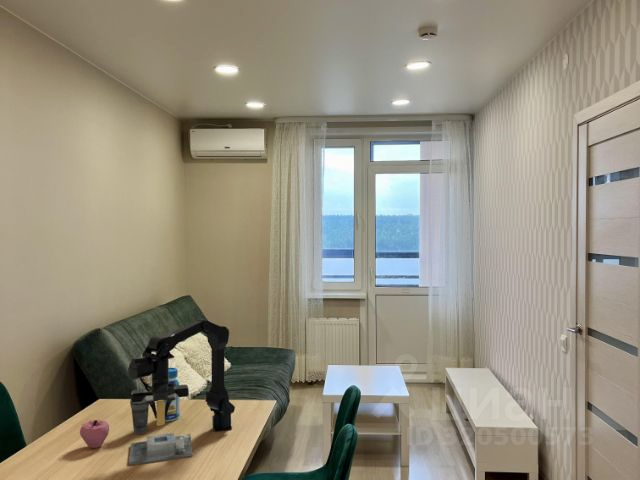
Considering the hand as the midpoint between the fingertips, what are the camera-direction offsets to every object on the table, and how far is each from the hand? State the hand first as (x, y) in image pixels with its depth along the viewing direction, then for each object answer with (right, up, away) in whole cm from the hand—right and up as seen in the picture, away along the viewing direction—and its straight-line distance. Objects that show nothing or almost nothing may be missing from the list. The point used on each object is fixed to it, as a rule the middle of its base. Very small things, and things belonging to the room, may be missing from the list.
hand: (160, 418), depth 172 cm
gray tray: (0, -11, 0) cm, 11 cm away
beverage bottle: (-7, -12, +31) cm, 34 cm away
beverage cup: (-13, -12, +18) cm, 25 cm away
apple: (-25, -12, +4) cm, 28 cm away
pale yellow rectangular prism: (0, -2, 0) cm, 2 cm away
